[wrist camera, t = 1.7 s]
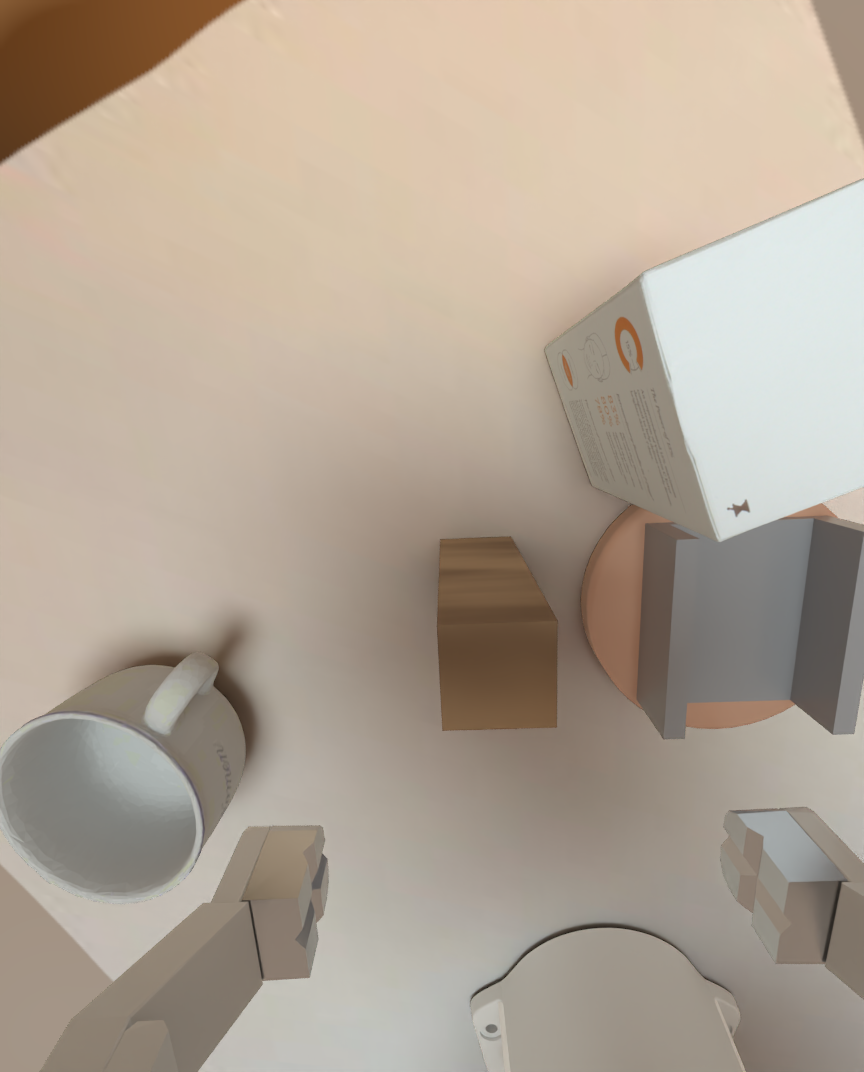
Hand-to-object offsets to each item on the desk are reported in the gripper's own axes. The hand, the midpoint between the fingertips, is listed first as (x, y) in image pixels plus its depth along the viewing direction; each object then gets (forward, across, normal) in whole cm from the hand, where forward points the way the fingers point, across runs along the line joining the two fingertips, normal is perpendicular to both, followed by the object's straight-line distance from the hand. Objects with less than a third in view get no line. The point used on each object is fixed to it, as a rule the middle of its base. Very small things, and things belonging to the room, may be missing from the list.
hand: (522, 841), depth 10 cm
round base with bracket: (+19, -14, +3) cm, 23 cm away
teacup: (+20, +17, +9) cm, 27 cm away
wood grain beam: (+19, -1, +1) cm, 19 cm away
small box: (+19, -9, -9) cm, 23 cm away
